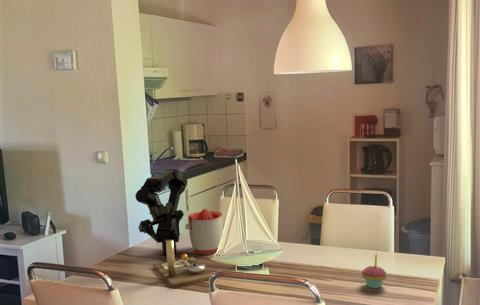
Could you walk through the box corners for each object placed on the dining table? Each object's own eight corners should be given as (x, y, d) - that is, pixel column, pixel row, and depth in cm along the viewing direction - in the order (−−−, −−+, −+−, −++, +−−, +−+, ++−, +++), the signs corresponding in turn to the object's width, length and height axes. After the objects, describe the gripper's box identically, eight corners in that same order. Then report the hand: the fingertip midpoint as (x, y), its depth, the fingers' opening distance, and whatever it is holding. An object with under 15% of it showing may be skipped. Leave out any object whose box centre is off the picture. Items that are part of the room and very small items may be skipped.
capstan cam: (157, 265, 203) (155, 232, 201) (191, 258, 209) (189, 226, 208) (171, 279, 186) (169, 244, 184) (207, 271, 193) (205, 237, 191)
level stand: (154, 267, 205) (153, 264, 205) (192, 259, 212) (192, 256, 212) (173, 288, 182) (173, 284, 181) (216, 278, 189) (216, 274, 189)
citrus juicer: (183, 248, 228) (180, 207, 226) (219, 243, 233) (216, 203, 231) (190, 259, 213) (187, 215, 211) (228, 253, 218) (225, 210, 216)
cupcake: (368, 279, 181) (367, 248, 179) (390, 284, 175) (390, 252, 174) (358, 287, 174) (357, 255, 173) (380, 293, 169) (380, 259, 167)
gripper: (137, 203, 193) (151, 238, 187) (179, 191, 203) (194, 224, 197) (132, 215, 202) (146, 248, 196) (173, 203, 211) (187, 235, 205)
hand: (168, 239), depth 198 cm, fingers open, 9 cm apart
